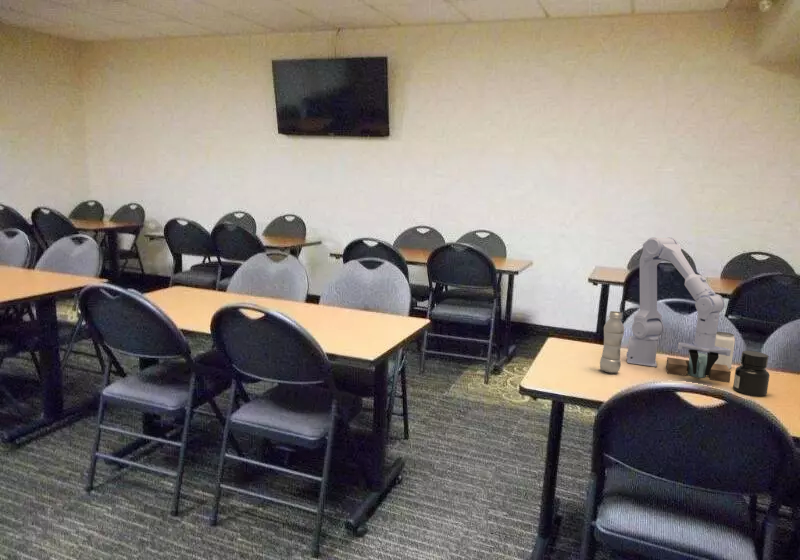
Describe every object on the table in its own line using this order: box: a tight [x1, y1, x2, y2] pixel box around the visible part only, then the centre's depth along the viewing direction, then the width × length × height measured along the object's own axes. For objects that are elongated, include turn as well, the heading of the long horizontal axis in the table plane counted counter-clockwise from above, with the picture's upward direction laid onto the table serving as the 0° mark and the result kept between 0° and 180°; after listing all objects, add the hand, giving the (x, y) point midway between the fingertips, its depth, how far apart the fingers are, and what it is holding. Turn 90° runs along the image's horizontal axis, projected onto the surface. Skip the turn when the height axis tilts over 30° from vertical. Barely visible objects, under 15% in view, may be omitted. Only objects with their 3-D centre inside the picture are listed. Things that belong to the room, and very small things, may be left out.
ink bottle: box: [732, 350, 770, 397], centre depth 173 cm, size 10×9×12 cm
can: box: [714, 331, 736, 370], centre depth 198 cm, size 6×6×12 cm
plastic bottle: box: [599, 310, 625, 374], centre depth 185 cm, size 6×7×20 cm
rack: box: [665, 357, 731, 383], centre depth 188 cm, size 18×8×4 cm, turn 69°
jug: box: [686, 352, 708, 379], centre depth 185 cm, size 6×11×7 cm, turn 159°
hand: (700, 374), depth 181 cm, fingers open, 3 cm apart
